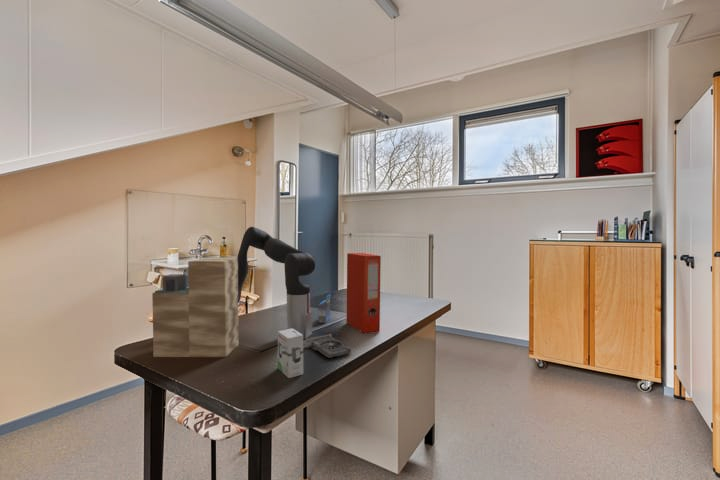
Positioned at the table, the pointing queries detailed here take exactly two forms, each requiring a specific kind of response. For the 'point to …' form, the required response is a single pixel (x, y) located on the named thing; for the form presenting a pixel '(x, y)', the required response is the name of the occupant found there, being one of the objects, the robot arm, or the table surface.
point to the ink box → (290, 352)
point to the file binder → (363, 292)
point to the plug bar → (175, 282)
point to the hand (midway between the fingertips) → (200, 271)
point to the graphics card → (328, 346)
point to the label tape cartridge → (324, 310)
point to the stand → (199, 312)
